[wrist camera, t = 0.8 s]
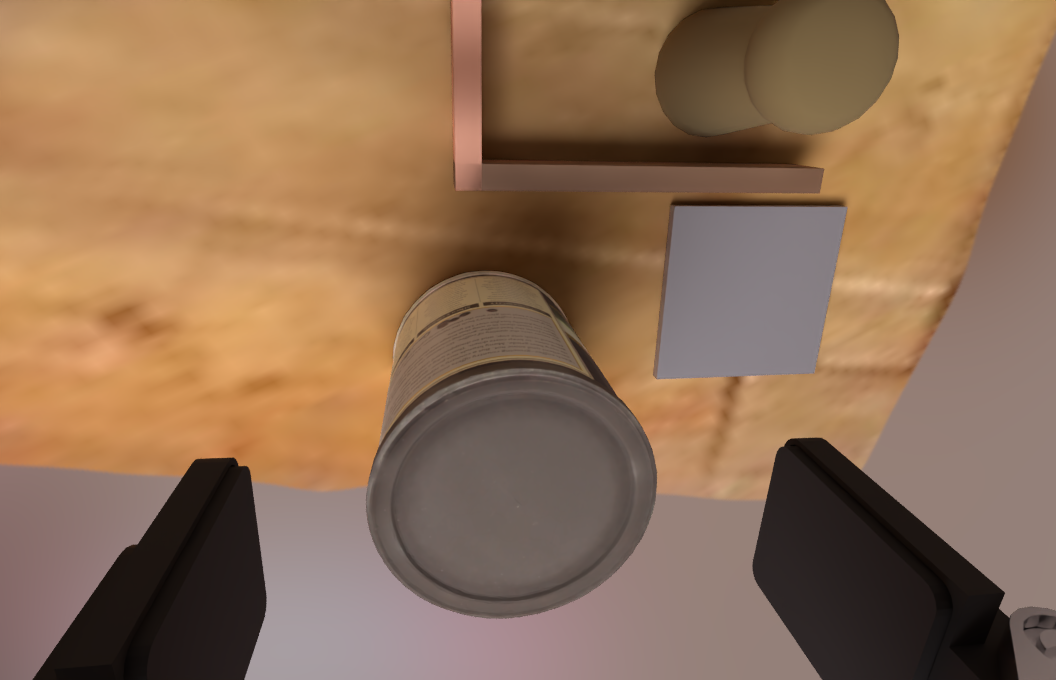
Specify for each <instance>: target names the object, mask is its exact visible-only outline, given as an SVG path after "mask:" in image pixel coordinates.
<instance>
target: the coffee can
mask: <svg viewBox="0 0 1056 680" xmlns="http://www.w3.org/2000/svg"><path fill="white" fill-rule="evenodd" d="M656 487H657V470H656V465H655V459H654V455H653V451H652V448H651V446H650V443H649V440H648V438H647V436H646V434H645V432H644V430H643V428H642V426H641V425H640V423H639V422H638V420H637V419H636V417H635V416H634V415H633V413H632V412H631V411H630V410H629V408H628V407H627V406H626V405H625V404H624V402H623V401H622V400H621V399H619V398H618V397H617V395H616V394H615V392H614V390H613V389H612V387H611V386H610V384H609V383H608V381H607V380H606V378H605V377H604V375H603V374H602V372H601V371H600V369H599V368H598V366H597V365H596V364H595V362H594V361H593V359H592V358H591V356H590V355H589V353H588V352H587V350H586V348H585V347H584V345H583V344H582V342H581V341H580V339H579V338H578V336H577V335H576V333H575V332H574V330H573V328H572V327H571V325H570V324H569V322H568V320H567V318H566V316H565V314H564V313H563V311H562V309H561V308H560V307H559V305H558V304H557V303H556V301H555V300H554V299H553V298H552V297H551V296H550V295H549V294H548V293H547V292H545V291H544V290H543V289H542V288H540V287H539V286H538V285H536V284H535V283H533V282H531V281H529V280H527V279H524V278H522V277H519V276H517V275H514V274H510V273H505V272H499V271H475V272H466V273H463V274H459V275H456V276H454V277H452V278H449V279H446V280H444V281H442V282H440V283H439V284H437V285H435V286H434V287H432V288H431V289H429V290H428V291H427V292H426V293H424V294H423V295H422V296H421V297H420V298H419V299H418V300H417V301H416V302H415V303H414V304H413V306H412V307H411V308H410V310H409V311H408V312H407V313H406V315H405V316H404V318H403V320H402V323H401V325H400V327H399V329H398V332H397V336H396V339H395V343H394V350H393V366H392V372H391V378H390V384H389V388H388V394H387V400H386V406H385V412H384V419H383V425H382V430H381V436H380V442H379V448H378V450H377V453H376V456H375V458H374V461H373V465H372V469H371V473H370V477H369V482H368V487H367V495H366V512H367V520H368V525H369V530H370V533H371V536H372V539H373V542H374V544H375V546H376V549H377V551H378V553H379V555H380V556H381V557H382V559H383V561H384V563H385V564H386V566H387V567H388V568H389V570H390V571H391V572H392V574H393V575H394V576H395V577H396V578H397V579H398V580H399V581H400V582H401V583H402V584H403V585H404V586H405V587H407V588H408V589H410V590H411V591H412V592H413V593H415V594H416V595H417V596H419V597H420V598H422V599H424V600H426V601H428V602H430V603H432V604H434V605H436V606H439V607H441V608H444V609H447V610H450V611H453V612H457V613H460V614H464V615H469V616H474V617H482V618H514V617H522V616H528V615H533V614H538V613H541V612H545V611H548V610H552V609H555V608H558V607H560V606H563V605H565V604H568V603H570V602H572V601H574V600H577V599H579V598H581V597H582V596H584V595H586V594H588V593H589V592H591V591H592V590H594V589H595V588H597V587H598V586H600V585H601V584H602V583H603V582H604V581H606V580H607V579H608V578H609V577H611V576H612V575H613V574H614V573H615V572H616V571H617V570H618V569H619V568H620V567H621V566H622V565H623V564H624V562H625V561H626V560H627V559H628V557H629V556H630V555H631V554H632V553H633V551H634V549H635V547H636V546H637V545H638V543H639V542H640V540H641V539H642V537H643V535H644V533H645V530H646V528H647V526H648V524H649V521H650V518H651V515H652V512H653V508H654V504H655V498H656Z"/></svg>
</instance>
